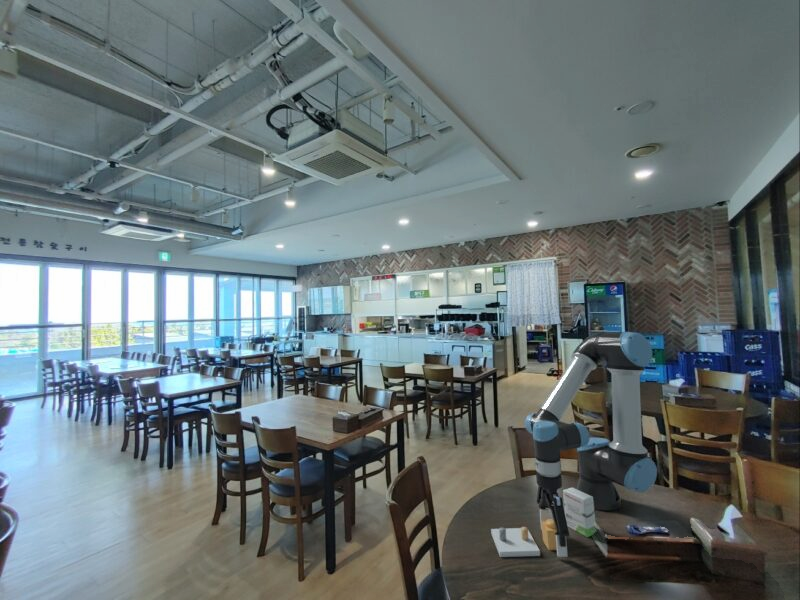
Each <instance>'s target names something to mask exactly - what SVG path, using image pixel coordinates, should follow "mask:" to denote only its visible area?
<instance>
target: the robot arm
mask: <svg viewBox="0 0 800 600" xmlns="http://www.w3.org/2000/svg"><path fill="white" fill-rule="evenodd" d="M570 355H571V360H570V362H569V364H567V366H566V368H565V369H564V371H563V373H562V374H561V376H560V378H558V380H557V382H556V384H555V385H554V387H553V388H552V390H551V391H550V393H549V394H548V396H547V397H546V399H545V400H544V402H543V403H542V404H541V406H540V408H539V409H538V411H537V413H536V412H535V413H534V412H533V413H530V414H528V415H527V416H526V418H525V420H524V426H525V430H526V431H527V432H528V433H530V434H531V435H532V438H533V439H532V440H533V447H534V449H533V450H534V459H535V461H534V462H533V465H534V466H535V472H536V473H535V478H536V484H537V485H538V486H537V494H536V504H538V509H539V521H540V531H542V522H546V520H547V519H550V514H549V512H551V516H552V519H553V520H554V523H555V527H556V531H557V532H556V533H555V535H556V546H557V550H556V556H557V557H558V558H564V557H565V558H568V546H567V545H568V544H567V537H570V532H569V527H568V526H567V521H566V517H565V510H564V498H562V497H560V496H559V492H558V490H559V489H561V488H562V487H563V481H562V480H563V478H562V465H561V464H562V463H561V461H562V460H561V452H564V451H567V450H574V449H577V450H576V453H577V463H578V471H579V472H578V474H579V479H578V482H577V487H576V489H577V490H579V491H581V492H583V493H586V494H588V495H590V496H592V497H593V502H594V510H598V511H616V510H618V509H620V508H621V507H622V501H621V500H622V499H621V496H620V494H619V491H618V489H617V487H616V486H617V485H620V486H622V487H624V488H626V489H627V490H631V491H634V492H637V493H645V492H647V491H649V490H651V488H652V487H653V486H654V484H655V482H656V479H657V477H658V476H657V475H658V468H657V465H656V463H655V462H654V461H653V460H652V459H651V458H649V453H648V449H647V448H646V447H645V446H644V445H643V436H642V435H643V434H642V410H641V407H642V406H641V404H642V403H641V387H640V385H641V383H640V377H641V374H643V373H644V372H645V367H646V366H648V365H649V364H650V363H651V361H652V358H653V350H652V346H651V344H650V341H649V340H648V339H647V338H646V337H645V336H644V335H643V334H641V333H638V332H633V331H599V332H595V333H593V334H590V335H589V336H587V337H586V338H585V339H584V340H583V341H582V342H581V343H579V344H578V346H576V348H575V349H574V351H573V353H572V354H570ZM602 363H605V364H606V370H607V371H609V373H610V374H611V376H610V377H611V402H612V403H611V405H612V408H611V409H612V435H613V436H612V438H613V439H612V441H610V440H609V439H608V438H604V437H590V432H589V430H588V428H587V427H586V426H585V425H584V424H582V423H580V422H571V423H567V422H563V421H560V420H561V419H562V418H563V415H564V414H565V413H566V411H567V409H568V407H570V405H571V404H572V402H573V400H574V398H575V397H576V395H577V393H578V392H579V391H580V389H581V387H582V386H583V384H584V382H585V381H586V379H587V377H588V375H589V374H590V373H591V372H592V371H594V370H596V369H597V368H598V366H599V365H600V364H602ZM616 484H617V485H616ZM549 510H550V511H549Z"/></svg>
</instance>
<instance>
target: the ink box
mask: <svg viewBox="0 0 800 600" xmlns="http://www.w3.org/2000/svg"><path fill="white" fill-rule="evenodd" d="M562 496H563V498H562V499H563V508H564V512H565V517H566V521H567V526H568V528H569V529H572V530H573V531H576V532H577V533H579V534H580V535H582V536H584V537H586V538H589V537H591V536H593V535H595V534H596V533H595V526H594V522H596V515H595V509H594V502H593V497H592V496H590V495H588V494H586V493H583V492H581V491H579V490H577V488H575V487H569V488H566V489H563V490H562ZM594 533H595V534H594Z"/></svg>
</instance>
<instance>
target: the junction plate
mask: <svg viewBox="0 0 800 600" xmlns="http://www.w3.org/2000/svg"><path fill="white" fill-rule="evenodd" d="M490 531H491V532H490V534H491V536H492V539H493V541H494V544H495V547H496V550H497V552H498V555H499V557H500V558H508V557H510V558H511V557H512V558H513V557H518V558H519V557H541V550H540V548H539V547H538V545H537V543H536V541H535V540H534V538H533V536H532V534H531V532H530V531H529V528H528V527H526V526H521V527H514V528H513V527H511V528H510V527H509V528H505V527H499V528H490Z"/></svg>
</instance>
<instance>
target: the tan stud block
mask: <svg viewBox="0 0 800 600" xmlns="http://www.w3.org/2000/svg"><path fill="white" fill-rule="evenodd" d="M541 532H542V534H541V535H542V542H543V543H544V544H545V546H546V548H547V550H548V551H557V546H556V535H555V533H556V532H557V531H556V527H555V523H554V520H553V518H549V519H547V520H546V522H542V530H541Z"/></svg>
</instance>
